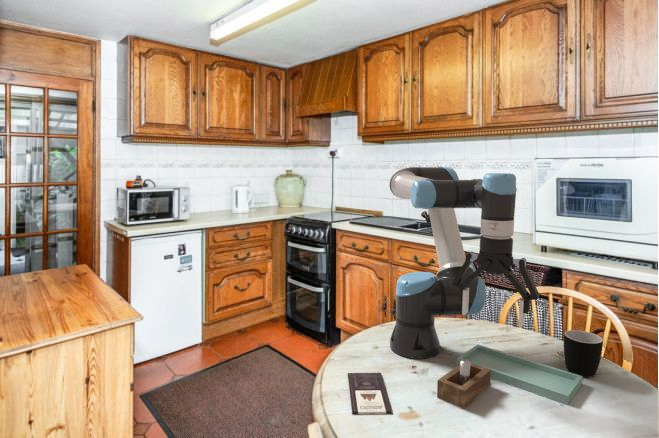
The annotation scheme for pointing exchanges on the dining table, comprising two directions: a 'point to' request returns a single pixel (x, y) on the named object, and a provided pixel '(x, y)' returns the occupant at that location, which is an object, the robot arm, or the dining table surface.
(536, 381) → the tray
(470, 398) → the wooden rectangular frame
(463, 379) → the silver cylindrical piece
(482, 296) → the robot arm
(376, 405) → the chocolate bar
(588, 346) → the mug
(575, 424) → the dining table surface
